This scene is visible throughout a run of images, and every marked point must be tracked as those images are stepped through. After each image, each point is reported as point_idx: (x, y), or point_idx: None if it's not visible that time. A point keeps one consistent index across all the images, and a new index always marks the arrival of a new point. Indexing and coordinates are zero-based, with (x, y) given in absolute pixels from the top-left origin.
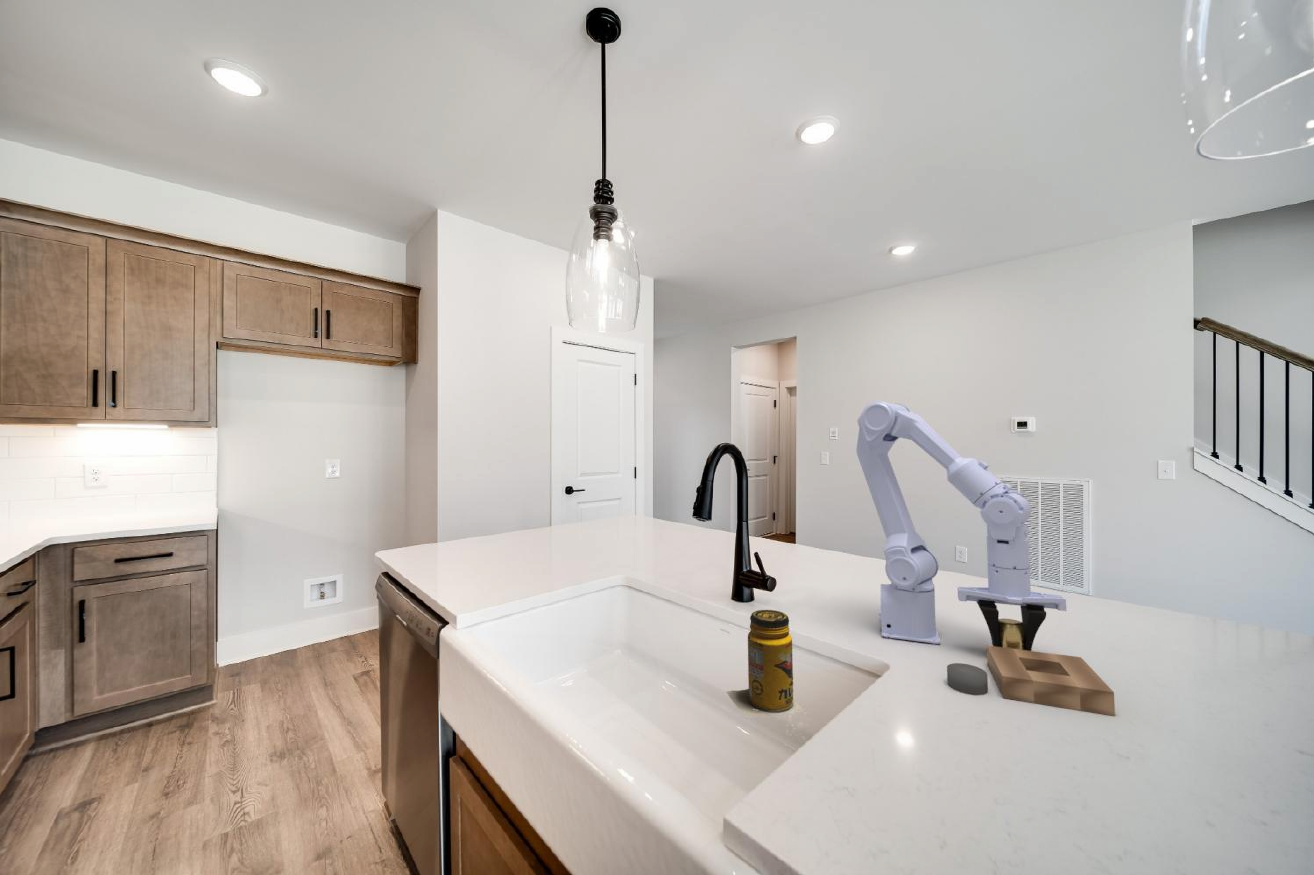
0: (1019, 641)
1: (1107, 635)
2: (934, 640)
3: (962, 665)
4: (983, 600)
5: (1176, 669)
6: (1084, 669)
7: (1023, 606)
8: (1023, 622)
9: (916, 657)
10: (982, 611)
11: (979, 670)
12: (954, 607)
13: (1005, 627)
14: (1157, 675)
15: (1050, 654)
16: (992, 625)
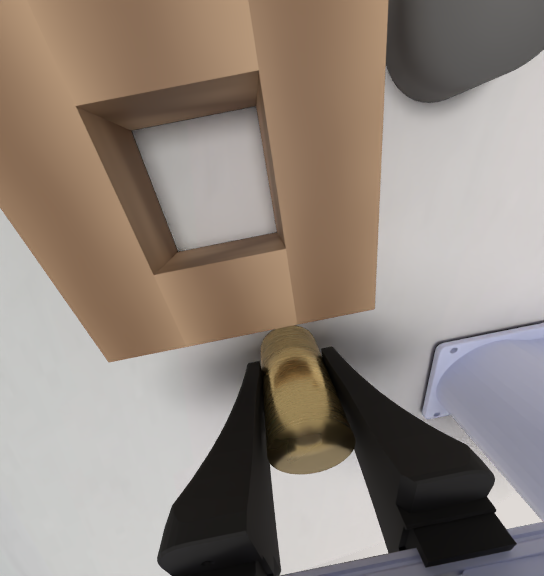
0: (277, 377)
1: (142, 521)
2: (450, 352)
3: (514, 37)
4: (487, 551)
5: (8, 457)
6: (62, 247)
7: (271, 568)
8: (267, 469)
9: (528, 224)
10: (470, 450)
11: (454, 5)
12: (361, 510)
13: (328, 409)
14: (21, 416)
15: (189, 335)
16: (375, 400)
